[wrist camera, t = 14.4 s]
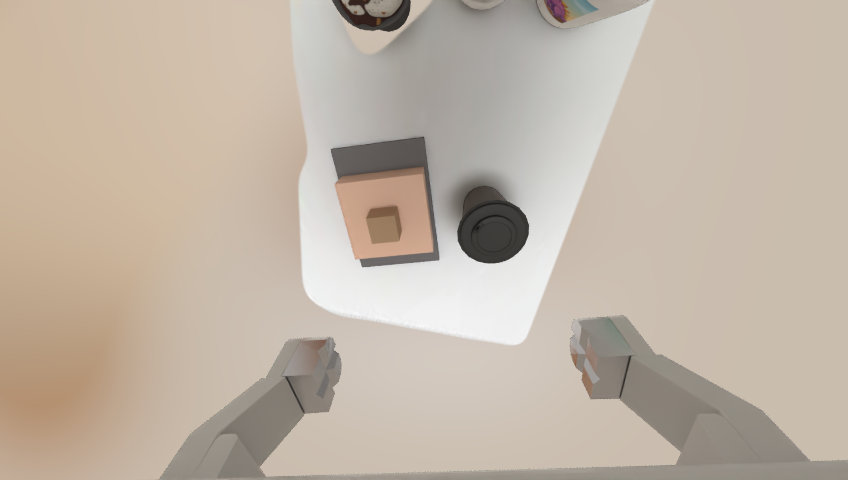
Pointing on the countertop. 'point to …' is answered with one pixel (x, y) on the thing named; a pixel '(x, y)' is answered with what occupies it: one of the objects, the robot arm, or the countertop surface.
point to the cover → (386, 212)
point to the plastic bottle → (482, 3)
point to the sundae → (374, 13)
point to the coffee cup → (491, 226)
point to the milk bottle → (583, 10)
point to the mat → (388, 159)
